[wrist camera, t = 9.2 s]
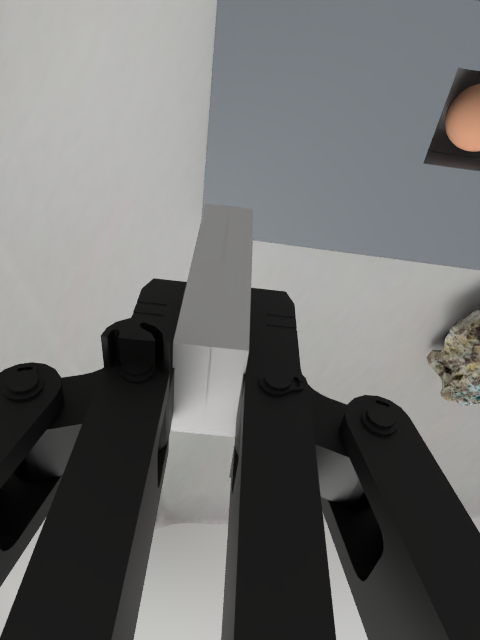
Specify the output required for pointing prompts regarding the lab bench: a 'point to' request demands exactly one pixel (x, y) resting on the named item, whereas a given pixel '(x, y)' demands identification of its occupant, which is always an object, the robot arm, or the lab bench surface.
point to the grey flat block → (344, 125)
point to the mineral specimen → (460, 361)
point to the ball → (465, 119)
